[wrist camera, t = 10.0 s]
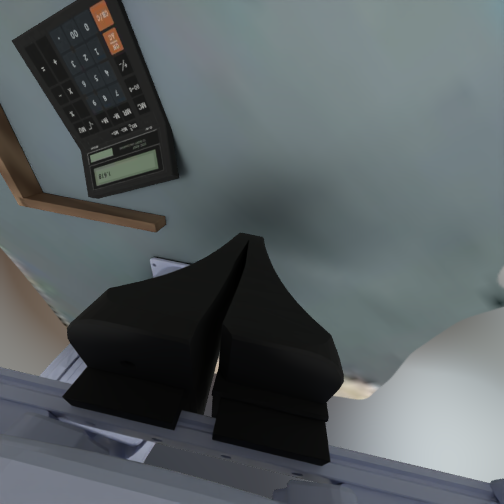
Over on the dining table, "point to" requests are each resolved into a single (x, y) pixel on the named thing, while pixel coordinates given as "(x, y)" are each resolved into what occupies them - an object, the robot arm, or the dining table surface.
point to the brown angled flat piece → (30, 195)
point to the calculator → (102, 95)
